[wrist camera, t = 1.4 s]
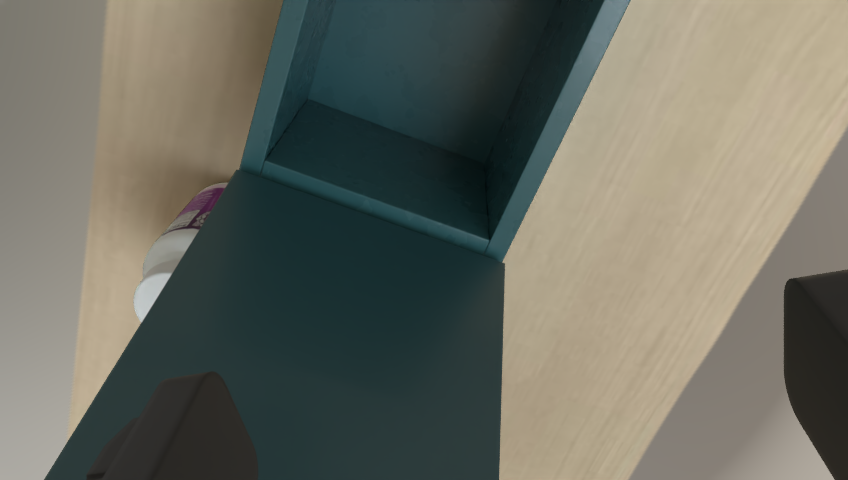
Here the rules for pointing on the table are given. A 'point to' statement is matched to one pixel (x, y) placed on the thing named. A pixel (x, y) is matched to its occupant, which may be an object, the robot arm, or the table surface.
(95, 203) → the table surface
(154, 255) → the pill bottle
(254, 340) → the lid
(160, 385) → the robot arm
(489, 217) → the teal storage bin
